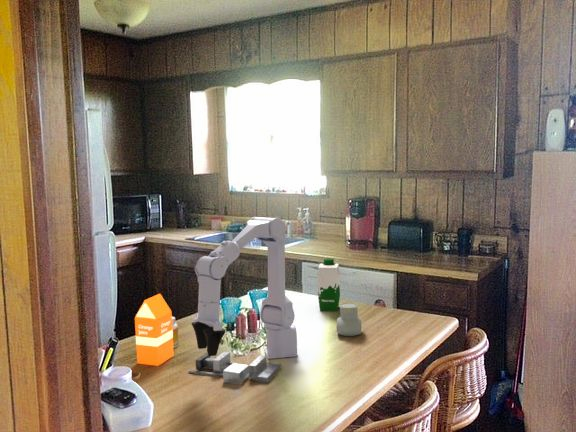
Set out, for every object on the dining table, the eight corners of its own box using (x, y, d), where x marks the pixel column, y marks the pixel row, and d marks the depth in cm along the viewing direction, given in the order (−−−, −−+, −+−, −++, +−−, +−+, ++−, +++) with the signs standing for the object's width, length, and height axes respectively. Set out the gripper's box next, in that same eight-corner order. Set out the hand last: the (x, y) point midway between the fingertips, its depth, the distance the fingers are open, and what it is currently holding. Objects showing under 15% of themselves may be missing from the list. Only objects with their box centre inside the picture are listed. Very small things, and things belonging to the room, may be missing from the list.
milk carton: (340, 305, 222) (340, 258, 219) (339, 312, 213) (338, 262, 211) (319, 305, 223) (318, 258, 221) (317, 311, 214) (316, 262, 212)
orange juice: (136, 363, 165) (133, 299, 163) (153, 353, 173) (150, 292, 171) (158, 365, 162) (155, 301, 160) (174, 355, 170) (171, 294, 168)
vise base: (280, 369, 157) (280, 356, 156) (267, 382, 147) (267, 368, 147) (205, 360, 165) (204, 347, 165) (188, 372, 156) (187, 359, 156)
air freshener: (338, 328, 192) (337, 301, 191) (361, 329, 191) (361, 301, 190) (336, 338, 182) (335, 310, 181) (361, 339, 180) (360, 310, 179)
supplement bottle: (180, 343, 182) (178, 315, 181) (177, 348, 176) (175, 320, 175) (164, 343, 182) (162, 315, 181) (160, 349, 176) (159, 320, 175)
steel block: (249, 376, 153) (248, 365, 152) (239, 385, 147) (239, 373, 147) (233, 374, 154) (233, 362, 154) (223, 383, 149) (223, 370, 148)
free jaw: (230, 365, 161) (230, 352, 160) (219, 374, 154) (219, 360, 154) (206, 362, 163) (206, 349, 163) (195, 371, 157) (194, 357, 156)
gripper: (186, 297, 148) (184, 346, 148) (204, 306, 135) (202, 360, 135) (210, 296, 151) (208, 344, 151) (230, 305, 139) (228, 357, 139)
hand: (207, 351), depth 144 cm, fingers open, 7 cm apart
